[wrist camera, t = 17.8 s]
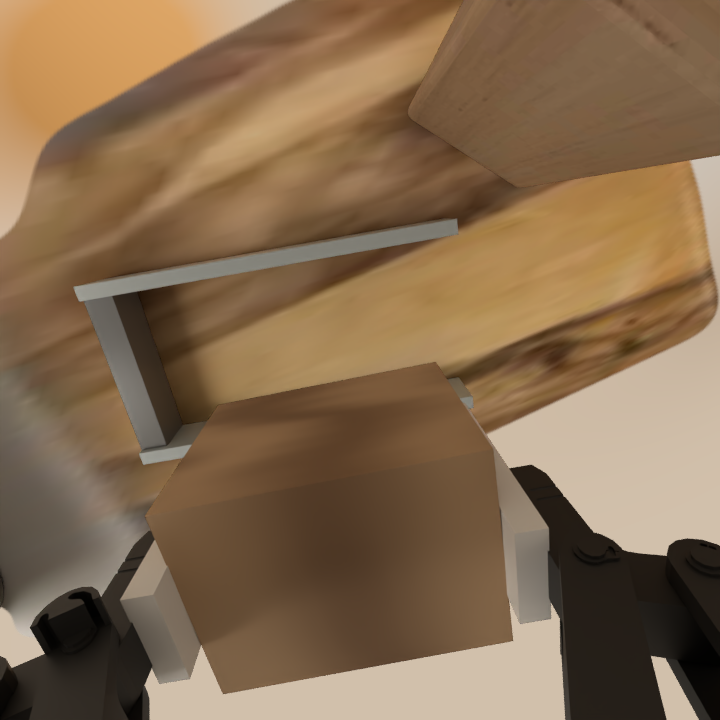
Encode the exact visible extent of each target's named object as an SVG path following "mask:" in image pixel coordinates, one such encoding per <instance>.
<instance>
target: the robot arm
mask: <svg viewBox="0 0 720 720" xmlns="http://www.w3.org/2000/svg"><path fill="white" fill-rule="evenodd" d="M463 404H464V406H465V407H466V409H467V410H468V412H469V413H470V415H471V416H472V418H473V419H474V421H475V422H476V424H477V425H478V427H479V428H480V430H481V431H482V433H483V434H484V436H485V437H486V439H487V440H488V442H489V443H490V445H491V446H492V448H493V451H494V460H495V470H496V480H497V489H498V499H499V509H500V518H501V528H502V538H503V548H504V557H505V571H506V585H507V596H508V598H509V600H510V603H511V605H512V607H513V610H514V612H515V614H516V616H517V619H518V621H519V623H520V624H523V623H529V622H535V621H542V620H547V619H551V603H552V605H553V607H554V608H555V610H556V612H557V614H558V616H559V618H560V652H561V655H562V671H563V688H564V702H565V703H564V704H565V719H566V720H666V716H665V712H664V708H663V704H662V700H661V696H660V691H659V687H658V683H657V679H656V675H655V671H654V668H653V663H652V659H651V656H656V657H662V658H666V660H667V662H668V663H669V665H670V667H671V669H672V671H673V673H674V674H675V676H676V678H677V680H678V682H679V684H680V686H681V687H682V689H683V691H684V693H685V695H686V697H687V698H688V700H689V702H690V704H691V705H692V707H693V709H694V711H695V713H696V715H697V717H698V718H699V720H720V546H719V545H717V544H714V543H711V542H707V541H704V540H698V539H683V540H677V541H675V542H674V543H672V544H671V545H669V548H668V552H667V556H660V555H650V554H639V553H633V552H627V551H624V550H622V548H621V547H619V545H617V544H616V543H615V542H614V541H613V540H611V539H609V538H607V537H605V536H603V535H601V534H597V533H593V531H592V530H591V529H590V527H589V526H588V525H587V524H586V523H585V521H584V520H583V519H582V518H581V516H580V515H579V514H578V513H577V511H576V510H575V509H574V508H573V506H572V505H571V504H570V503H569V501H568V500H567V499H566V498H565V497H564V496H563V494H562V493H561V491H560V490H559V489H558V488H557V487H556V486H555V484H554V483H553V481H552V480H551V479H550V478H549V476H548V475H547V474H546V473H545V472H543V471H541V470H540V469H538V468H536V467H534V466H533V465H527V466H521V467H515V468H508V466H507V465H506V463H505V462H504V460H503V459H502V457H501V456H500V454H499V453H498V452H497V450H496V449H495V447H494V445H493V444H492V443H491V441H490V440H489V438H488V436H487V435H486V433H485V432H484V430H483V429H482V427H481V426H480V425H479V423H478V422H477V420H476V419H475V417H474V416H473V414H472V413H471V411H470V410H469V408H468V407H467V405H466V404H465V403H463ZM2 601H3V583H2V579H1V576H0V607H1V605H2ZM30 629H31V630H32V632H33V634H34V636H35V637H36V639H37V641H38V642H39V644H40V646H41V648H42V649H43V651H44V653H45V654H44V655H41V656H39V657H37V658H35V659H32V660H30V661H27V662H25V663H23V664H20V665H18V666H16V667H14V668H11V666H10V665H9V663H8V662H7V660H6V659H5V658H3V657H1V656H0V720H149V696H148V693H147V690H146V688H145V686H144V685H145V682H146V680H147V678H148V675H149V673H150V671H151V668H152V669H153V671H154V673H155V676H156V678H157V680H158V682H159V684H162V683H167V682H174V681H180V680H185V679H190V677H191V674H192V671H193V668H194V665H195V661H196V659H197V656H198V653H199V649H200V646H201V643H200V641H199V639H198V636H197V634H196V632H195V629H194V627H193V625H192V623H191V620H190V618H189V616H188V614H187V611H186V609H185V607H184V604H183V602H182V600H181V597H180V595H179V592H178V590H177V587H176V585H175V582H174V580H173V578H172V575H171V573H170V570H169V568H168V566H166V564H165V561H164V559H163V557H162V555H161V552H160V550H159V548H158V545H157V543H156V541H155V539H154V536H153V534H152V532H151V531H148V532H147V533H146V534H145V535H144V536H143V537H142V538H141V539H140V540H139V541H138V542H137V543H136V544H135V545H134V546H133V548H132V549H131V551H130V552H129V554H128V556H127V557H126V559H125V562H123V563H122V565H121V567H120V568H119V570H118V574H116V575H115V576H114V578H113V579H112V581H111V583H110V584H109V586H108V587H107V589H106V591H105V592H104V594H103V595H102V597H100V594H99V592H98V590H96V589H94V588H93V587H81V588H78V589H74V590H71V591H69V592H67V593H65V594H63V595H62V596H60V597H58V598H56V599H55V600H54V601H52V602H51V603H50V604H49V605H47V606H46V607H45V608H44V609H43V610H42V611H41V612H40V613H39V614H38V615H37V616H36V618H35V619H34V621H33V623H32V625H31V627H30Z"/></svg>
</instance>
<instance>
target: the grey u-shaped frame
mask: <svg viewBox="0 0 720 720" xmlns="http://www.w3.org/2000/svg"><path fill="white" fill-rule="evenodd" d="M457 234H458V225H457V219H438V220H432V221H427V222H421V223H415V224H410V225H404V226H399V227H393V228H387V229H382V230H376V231H371V232H365V233H359V234H354V235H348V236H343V237H337V238H331V239H326V240H320V241H314V242H309V243H303V244H298V245H292V246H286V247H281V248H275V249H270V250H264V251H258V252H253V253H247V254H242V255H236V256H230V257H225V258H219V259H213V260H208V261H202V262H197V263H191V264H185V265H180V266H174V267H169V268H163V269H157V270H152V271H146V272H141V273H135V274H129V275H124V276H118V277H112V278H107V279H102V280H99V281H95V282H91V283H87V284H83V285H79V286H76V287H74V290H75V293H76V295H77V298H78V300H79V302H80V301H84V303H85V306H86V308H87V311H88V313H89V316H90V319H91V321H92V324H93V326H94V329H95V331H96V334H97V336H98V339H99V342H100V344H101V347H102V349H103V352H104V354H105V357H106V360H107V362H108V365H109V367H110V370H111V372H112V375H113V377H114V380H115V383H116V385H117V388H118V390H119V393H120V395H121V398H122V401H123V403H124V406H125V408H126V411H127V413H128V416H129V418H130V421H131V424H132V426H133V429H134V431H135V434H136V436H137V439H138V442H139V444H140V447H141V449H142V451H141V452H140V453H139V455H140V458H141V460H142V463H143V465H145V464H150V463H156V462H162V461H168V460H174V459H179V458H183V457H184V456H185V454H186V453H187V451H188V450H189V448H190V447H191V445H192V444H193V442H194V441H195V439H196V438H197V436H198V435H199V433H200V432H201V430H202V429H203V427H204V426H205V424H206V423H207V421H203V422H197V423H191V424H185V425H183V424H182V421H181V418H180V415H179V412H178V409H177V406H176V403H175V401H174V398H173V395H172V392H171V389H170V386H169V383H168V380H167V377H166V375H165V372H164V369H163V366H162V363H161V360H160V357H159V354H158V351H157V348H156V346H155V343H154V340H153V337H152V334H151V331H150V328H149V325H148V322H147V319H146V317H145V314H144V311H143V308H142V305H141V302H140V299H139V296H138V293H137V291H142V290H148V289H153V288H159V287H165V286H170V285H176V284H181V283H187V282H193V281H198V280H204V279H210V278H215V277H221V276H226V275H232V274H238V273H243V272H249V271H255V270H260V269H266V268H271V267H277V266H283V265H288V264H294V263H300V262H305V261H311V260H317V259H322V258H328V257H333V256H339V255H345V254H350V253H356V252H362V251H367V250H373V249H378V248H384V247H390V246H395V245H401V244H407V243H412V242H418V241H424V240H429V239H435V238H440V237H446V236H452V235H457ZM447 380H448V382H449V383H450V385H451V386H452V388H453V389H454V391H455V392H456V394H457V395H458V397H459V398H460V400H461V401H462V403H465V404H466V405H467V407H468V408H469V409H470V408H474V407H473V396H472V395H471V393H470V392H469V391H468V389H467V388H466V387H465V385H464V384H463V383H462V381H461V380H460V379H459V377H457V378H451V379H447Z"/></svg>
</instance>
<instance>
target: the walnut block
mask: <svg viewBox="0 0 720 720" xmlns="http://www.w3.org/2000/svg"><path fill="white" fill-rule="evenodd" d="M145 518H146V520H147V523H148V525H149V527H150V530H151V532H152V534H153V536H154V539H155V541H156V543H157V545H158V548H159V550H160V552H161V555H162V557H163V559H164V561H165V564H166V566H168V568H169V570H170V573H171V575H172V578H173V580H174V582H175V585H176V587H177V590H178V592H179V595H180V597H181V600H182V602H183V604H184V607H185V609H186V611H187V614H188V616H189V618H190V620H191V623H192V625H193V627H194V629H195V632H196V634H197V636H198V639H199V641H200V643H201V645H202V648H203V650H204V652H205V654H206V657H207V659H208V661H209V663H210V666H211V668H212V670H213V672H214V675H215V677H216V679H217V682H218V684H219V686H220V688H221V691H222V692H223V694H227V693H232V692H238V691H243V690H249V689H254V688H259V687H265V686H270V685H276V684H281V683H286V682H292V681H297V680H303V679H309V678H314V677H319V676H325V675H330V674H336V673H341V672H346V671H352V670H357V669H363V668H368V667H373V666H379V665H385V664H390V663H395V662H401V661H407V660H412V659H417V658H423V657H428V656H433V655H439V654H445V653H450V652H456V651H461V650H466V649H471V648H478V647H483V646H488V645H493V644H499V643H505V642H510V641H513V635H512V625H511V616H510V606H509V598H508V596H507V585H506V571H505V557H504V548H503V538H502V528H501V518H500V509H499V499H498V489H497V480H496V470H495V460H494V451H493V448H492V446H491V445H490V443H489V442H488V440H487V439H486V437H485V436H484V434H483V433H482V431H481V430H480V428H479V427H478V425H477V424H476V422H475V421H474V419H473V418H472V416H471V415H470V413H469V412H468V410H467V409H466V407H465V406H464V404H463V403H462V401H461V400H460V398H459V397H458V395H457V394H456V392H455V391H454V389H453V388H452V386H451V385H450V383H449V382H448V380H447V379H446V377H445V376H444V374H443V372H442V371H441V369H440V368H439V366H438V365H437V363H436V362H433V363H428V364H423V365H418V366H413V367H407V368H402V369H397V370H392V371H387V372H382V373H377V374H372V375H367V376H362V377H357V378H352V379H347V380H342V381H337V382H332V383H327V384H321V385H316V386H311V387H306V388H301V389H296V390H291V391H286V392H281V393H276V394H271V395H266V396H261V397H256V398H251V399H246V400H241V401H236V402H230V403H225V404H220V405H218V406H217V407H216V409H215V410H214V412H213V413H212V415H211V416H210V418H209V419H208V421H207V423H206V424H205V426H204V427H203V429H202V430H201V432H200V433H199V435H198V436H197V438H196V439H195V441H194V442H193V444H192V445H191V447H190V448H189V450H188V451H187V453H186V454H185V456H184V457H183V459H182V460H181V462H180V463H179V465H178V466H177V468H176V470H175V471H174V473H173V474H172V476H171V477H170V479H169V480H168V482H167V483H166V485H165V486H164V488H163V489H162V491H161V492H160V494H159V495H158V497H157V498H156V500H155V501H154V503H153V504H152V506H151V507H150V509H149V510H148V512H147V513H146V515H145Z"/></svg>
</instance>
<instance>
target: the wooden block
mask: <svg viewBox="0 0 720 720" xmlns="http://www.w3.org/2000/svg"><path fill="white" fill-rule="evenodd" d="M408 115H409V117H410V118H411V119H412V120H413V121H415V122H416V123H418V124H419V125H421V126H422V127H424V128H426V129H427V130H429V131H430V132H432V133H433V134H435V135H436V136H438V137H439V138H441V139H443V140H444V141H446V142H447V143H449V144H450V145H452V146H453V147H455V148H457V149H458V150H460V151H461V152H463V153H464V154H466V155H467V156H469V157H470V158H472V159H474V160H475V161H477V162H478V163H480V164H481V165H483V166H484V167H486V168H488V169H489V170H491V171H492V172H494V173H495V174H497V175H498V176H500V177H501V178H503V179H505V180H506V181H508V182H509V183H511V184H512V185H514V186H515V187H520V188H523V187H529V186H535V185H541V184H547V183H553V182H559V181H566V180H572V179H578V178H584V177H590V176H596V175H602V174H608V173H615V172H621V171H627V170H633V169H639V168H645V167H651V166H657V165H663V164H670V163H676V162H682V161H688V160H694V159H700V158H706V157H712V156H719V155H720V0H463V2H462V4H461V6H460V8H459V10H458V12H457V14H456V16H455V18H454V20H453V22H452V24H451V26H450V28H449V30H448V32H447V34H446V36H445V38H444V39H443V41H442V43H441V45H440V47H439V49H438V51H437V53H436V55H435V57H434V59H433V61H432V63H431V65H430V67H429V69H428V71H427V73H426V75H425V77H424V79H423V81H422V83H421V85H420V86H419V88H418V90H417V92H416V94H415V96H414V98H413V100H412V102H411V104H410V106H409V108H408Z"/></svg>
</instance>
